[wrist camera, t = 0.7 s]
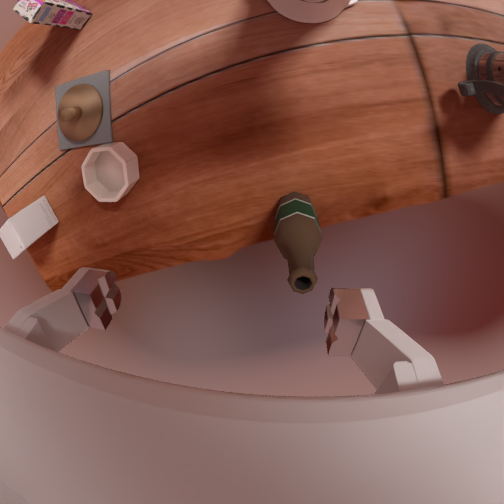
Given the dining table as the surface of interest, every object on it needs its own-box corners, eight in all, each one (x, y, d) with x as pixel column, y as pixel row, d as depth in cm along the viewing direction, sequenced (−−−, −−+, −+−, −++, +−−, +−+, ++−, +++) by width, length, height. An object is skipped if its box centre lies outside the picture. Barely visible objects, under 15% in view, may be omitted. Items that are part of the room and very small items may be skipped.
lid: (59, 91, 42) (43, 93, 38) (102, 78, 41) (86, 78, 37) (63, 143, 49) (47, 149, 44) (105, 136, 48) (90, 141, 43)
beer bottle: (276, 227, 57) (273, 308, 36) (273, 191, 53) (269, 258, 32) (314, 225, 56) (332, 306, 35) (314, 189, 52) (335, 255, 31)
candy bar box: (94, 12, 33) (44, 1, 19) (81, 30, 35) (30, 24, 21) (70, -2, 30) (24, -11, 16) (59, 15, 32) (11, 10, 18)
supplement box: (44, 193, 57) (7, 218, 44) (59, 221, 61) (25, 250, 48) (30, 207, 59) (-4, 232, 47) (45, 232, 63) (13, 260, 51)
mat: (56, 86, 42) (55, 86, 42) (109, 70, 41) (108, 69, 41) (61, 149, 50) (59, 150, 50) (112, 141, 49) (111, 142, 49)
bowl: (92, 145, 50) (79, 150, 46) (136, 140, 49) (124, 144, 45) (99, 193, 56) (87, 202, 52) (141, 193, 55) (130, 201, 51)
